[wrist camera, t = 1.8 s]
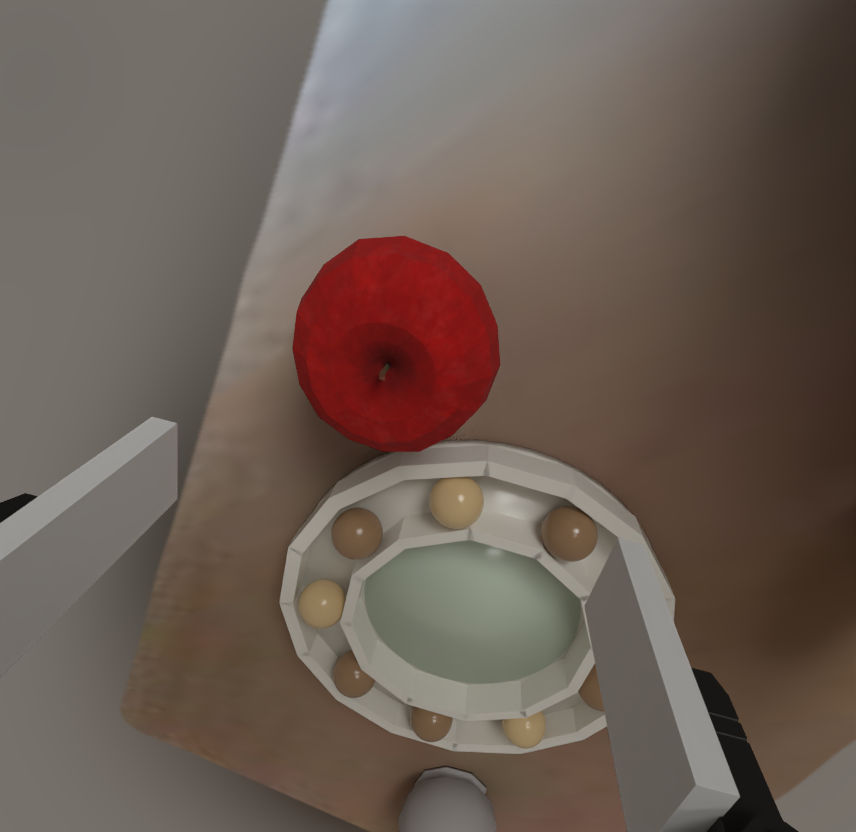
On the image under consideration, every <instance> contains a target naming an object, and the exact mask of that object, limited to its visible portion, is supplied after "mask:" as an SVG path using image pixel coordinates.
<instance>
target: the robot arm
mask: <svg viewBox="0 0 856 832" xmlns="http://www.w3.org/2000/svg"><path fill="white" fill-rule="evenodd" d="M176 500H177V423H174V422H170V421H166V420H162V419H159V418H154V417H151V418H150V419H148V420H147V421H145V422H144V423H143V424H141V425H140V426H138V427H137V428H136V429H134V430H133V431H131V432H130V433H128V434H127V435H125V436H124V437H123V438H121V439H120V440H118V441H117V442H116V443H114V444H113V445H111V446H110V447H108V448H107V449H105V450H104V451H103V452H101V453H100V454H98V455H97V456H95V457H94V458H93V459H91V460H90V461H88V462H87V463H85V464H84V465H83V466H81V467H80V468H78V469H77V470H76V471H74V472H73V473H71V474H70V475H68V476H67V477H66V478H64V479H63V480H61V481H60V482H58V483H57V484H56V485H54V486H53V487H52V488H50V489H48V490H47V491H45V492H44V493H43V494H41V495H40V496H38V497H37V496H33V495H30V494H26V493H25V494H22V495H20V496H17V497H15V498H12V499H9V500H6V501H4V502H1V503H0V678H1V676H3V675H4V673H5V672H7V671H8V669H10V668H11V667H12V665H13V664H14V663H15V662H16V661H17V660H18V659H19V658H20V657H21V656H22V655H23V654H24V653H25V652H26V651H27V650H28V649H29V648H30V647H31V646H32V645H33V644H34V643H35V642H36V641H37V640H38V639H39V638H40V637H41V636H42V635H43V634H44V633H45V632H46V631H47V630H48V629H49V628H50V627H51V626H52V625H53V624H54V623H55V622H56V621H57V620H58V619H59V618H60V617H61V616H62V615H63V614H64V613H65V612H66V611H67V610H68V609H69V608H70V607H71V606H72V605H73V604H74V603H75V602H76V601H77V600H78V599H79V598H80V597H81V596H82V595H83V594H84V593H85V592H86V591H87V590H88V589H89V588H90V587H91V586H92V585H93V584H94V583H95V582H96V581H97V580H98V579H99V578H100V576H102V575H103V574H104V573H105V572H106V571H107V570H108V569H109V568H110V567H111V566H112V565H113V564H114V563H115V562H116V561H117V560H118V559H119V558H120V556H122V554H124V552H125V551H127V549H128V548H129V547H130V546H131V545H132V544H133V543H134V542H135V541H136V540H137V539H138V538H139V537H140V536H141V535H142V534H143V533H144V532H145V531H146V530H147V529H148V528H149V527H150V526H151V525H152V524H153V523H154V522H155V521H156V520H157V519H158V518H159V517H160V516H161V515H162V514H163V513H164V512H165V511H166V510H167V509H168V508H169V507H170V506H171V505H172V504H173V503H174V502H175V501H176ZM584 607H585V613H586V618H587V623H588V628H589V634H590V639H591V644H592V649H593V655H594V660H595V665H596V671H597V676H598V681H599V686H600V692H601V697H602V702H603V708H604V713H605V718H606V723H607V729H608V734H609V739H610V744H611V750H612V755H613V760H614V766H615V771H616V776H617V781H618V787H619V792H620V797H621V803H622V808H623V813H624V818H625V824H626V829H627V832H798V831H797V830H795V829H794V828H793V827H791V826H790V825H789V824H787V823H786V822H784V821H783V819H782V817H781V816H780V813H779V811H778V809H777V806H776V804H775V802H774V799H773V797H772V795H771V792H770V790H769V788H768V785H767V783H766V781H765V779H764V776H763V774H762V772H761V769H760V767H759V765H758V762H757V760H756V758H755V755H754V753H753V751H752V749H751V746H750V744H749V743H747V741H746V739H747V737H746V735H745V732H744V730H743V728H742V725H741V723H738V719H739V718H738V716H737V714H736V712H735V709H734V707H733V705H732V702H731V700H730V698H729V695H728V694H727V693H726V692H725V690H724V689H723V688H722V686H721V685H720V684H719V683H718V681H717V680H716V679H715V677H714V676H713V675H712V673H709V672H705V671H701V670H698V669H694V668H691V666H690V664H689V661H688V658H687V656H686V653H685V651H684V648H683V645H682V643H681V640H680V637H679V635H678V632H677V630H676V627H675V624H674V622H673V619H672V616H671V614H670V611H669V609H668V606H667V603H666V601H665V598H664V596H663V593H662V590H661V588H660V585H659V582H658V580H657V577H656V575H655V572H654V569H653V567H652V564H651V561H650V559H649V556H648V554H647V551H646V548H645V546H644V544H640V543H637V542H633V541H629V540H625V539H621V538H617V540H616V542H615V544H614V546H613V549H612V551H611V553H610V555H609V557H608V559H607V561H606V563H605V565H604V567H603V569H602V571H601V573H600V575H599V577H598V579H597V581H596V583H595V585H594V587H593V589H592V591H591V593H590V595H589V597H588V599H587V602H586V604H585V606H584Z"/></svg>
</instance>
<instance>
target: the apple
mask: <svg viewBox="0 0 856 832" xmlns="http://www.w3.org/2000/svg"><path fill="white" fill-rule="evenodd" d="M293 354H294V359H295V364H296V369H297V374H298V379H299V384H300V386H301V388H302V390H303V391H304V393H305V395H306V396H307V398H308V400H309V401H310V403H311V405H312V406H313V408H314V410H315V412H316V413H317V415H318V417H320V418H321V419H322V420H324V421H325V422H326V423H328V424H329V425H330V426H332V427H333V428H334V429H336V430H337V431H338V432H340V433H341V434H342V435H344V436H345V437H346V438H348V439H350V440H352V441H355V442H358V443H361V444H363V445H366V446H369V447H372V448H375V449H377V450H380V451H383V452H420V451H422V450H424V449H426V448H428V447H430V446H432V445H434V444H436V443H438V442H440V441H442V440H444V439H446V438H448V437H450V436H452V435H453V434H454V433H455V432H456V431H457V430H458V429H459V428H460V427H461V426H462V425H463V424H464V423H465V422H466V421H467V420H468V419H469V418H470V417H471V416H472V415H473V414H474V413H475V412H476V411H477V410H478V409H479V408H480V407H481V406H482V404H483V403H484V402H485V401H486V400H487V397H488V394H489V392H490V389H491V387H492V384H493V382H494V379H495V377H496V374H497V372H498V369H499V367H500V356H499V341H498V326H497V323H496V320H495V318H494V316H493V313H492V311H491V308H490V306H489V304H488V301H487V299H486V296H485V294H484V292H483V289H482V287H481V285H480V284H479V283H478V282H477V281H476V280H475V279H474V278H473V277H472V276H471V275H470V274H469V273H468V272H467V271H466V270H465V269H464V268H463V267H462V266H461V265H460V264H459V263H458V262H457V261H456V260H455V259H454V258H453V257H452V256H451V255H450V254H449V253H447V252H444V251H442V250H439V249H436V248H434V247H431V246H429V245H426V244H424V243H421V242H419V241H416V240H414V239H411V238H409V237H406V236H397V237H383V238H369V239H358V240H357V241H356V242H354V243H353V244H351V245H350V246H349V247H347V248H346V249H345V250H343V251H342V252H341V253H339V254H338V255H336V256H335V257H334V258H332V259H331V260H330V261H328V262H327V263H325V264H324V265H323V267H322V268H321V270H320V271H319V273H318V274H317V276H316V277H315V279H314V280H313V282H312V283H311V285H310V286H309V288H308V290H307V291H306V293H305V294H304V296H303V297H302V299H301V302H300V305H299V307H298V310H297V314H296V323H295V332H294V340H293Z"/></svg>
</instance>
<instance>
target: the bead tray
mask: <svg viewBox="0 0 856 832" xmlns="http://www.w3.org/2000/svg"><path fill="white" fill-rule="evenodd" d="M617 538H621V539H625V540H629V541H633V542H637V543H640V544H644V546H645V548H646V551H647V554H648V556H649V559H650V561H651V564H652V567H653V569H654V572H655V575H656V577H657V580H658V582H659V585H660V588H661V590H662V593H663V596H664V598H665V601H666V603H667V606H668V609H669V611H670V614H671V616H672V619H673V622H674V609H675V597H674V594H673V592H672V589H671V587H670V584H669V582H668V579H667V577H666V575H665V573H664V571H663V569H662V567H661V565H660V563H659V561H658V559H657V557H656V555H655V554H654V552H653V550H652V547H651V545H650V542H649V540H648V538H647V536H646V534H645V533H644V531H643V530H642V528H641V526H640V524H639V523H638V521H637V519H636V517H635V516H634V515H633V514H631V513H630V511H629V510H628V509H627V508H626V507H625V506H624V504H623V503H622V502H621V501H620V500H619V499H618V498H617V497H616V496H614V495H613V494H612V493H611V492H610V491H609V490H607V489H606V488H605V487H604V486H603V485H602V484H600V483H599V482H597V481H596V480H594V479H593V478H591V477H590V476H588V475H587V474H585V473H584V472H582V471H581V470H579V469H577V468H575V467H573V466H571V465H569V464H567V463H565V462H563V461H561V460H559V459H557V458H554V457H551V456H549V455H546V454H543V453H540V452H537V451H534V450H532V449H528V448H524V447H519V446H515V445H510V444H506V443H501V442H491V441H482V440H444V441H440V442H438V443H436V444H434V445H432V446H430V447H428V448H426V449H424V450H422V451H420V452H389V453H387V454H384V455H382V456H379V457H376V458H374V459H372V460H370V461H369V462H367V463H365V464H363V465H361V466H360V467H358V468H356V469H354V470H353V471H351V472H350V473H349V474H348V475H346V476H345V477H344V478H342V479H341V480H340V481H338V482H337V483H336V484H335V485H334V486H333V487H332V488H331V489H330V490H329V491H328V492H327V493H326V495H325V496H324V497H323V498H322V499H321V500H320V502H319V503H318V505H317V506H316V508H315V509H314V511H313V512H312V514H311V515H310V516H309V517H308V519H307V520H306V521H305V522H304V524H303V525H302V526H301V527H300V528H299V530H298V531H297V533H296V535H295V537H294V538H293V540H292V542H291V544H290V545H289V547H288V552H287V559H286V565H285V571H284V577H283V583H282V589H281V595H280V601H279V604H280V607H281V610H282V612H283V615H284V618H285V621H286V624H287V627H288V630H289V633H290V636H291V639H292V641H293V644H294V647H295V650H296V653H297V656H298V657H299V658H300V659H301V660H302V661H303V663H304V664H305V665H306V666H307V667H308V668H309V669H310V670H311V672H312V673H313V674H314V675H315V676H316V677H317V678H318V680H319V681H320V682H321V683H322V684H323V685H324V686H325V687H326V689H327V690H328V691H329V692H330V693H331V694H332V695H333V696H334V698H335V699H336V700H337V701H339V702H341V703H342V704H344V705H346V706H347V707H349V708H351V709H352V710H354V711H356V712H357V713H359V714H361V715H362V716H364V717H366V718H367V719H369V720H371V721H372V722H374V723H376V724H377V725H379V726H381V727H382V728H384V729H386V730H387V731H389V732H390V733H394V734H397V735H400V736H404V737H407V738H411V739H414V740H417V741H421V742H424V743H428V744H431V745H434V746H438V747H441V748H445V749H448V750H452V751H462V752H486V753H510V754H522V753H527V752H531V751H536V750H540V749H545V748H549V747H554V746H558V745H562V744H567V743H571V742H576V741H580V740H584V739H586V738H588V737H589V736H591V735H593V734H594V733H596V732H598V731H599V730H601V729H603V728H604V727H606V726H607V723H606V718H605V713H604V708H603V702H602V697H601V692H600V686H599V681H598V676H597V671H596V665H595V660H594V655H593V649H592V644H591V639H590V634H589V628H588V623H587V618H586V613H585V607H584V606H585V604H586V602H587V599H588V597H589V595H590V593H591V591H592V589H593V587H594V585H595V583H596V581H597V579H598V577H599V575H600V573H601V571H602V569H603V567H604V565H605V563H606V561H607V559H608V557H609V555H610V553H611V551H612V549H613V546H614V544H615V542H616V540H617Z"/></svg>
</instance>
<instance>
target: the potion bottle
mask: <svg viewBox="0 0 856 832" xmlns="http://www.w3.org/2000/svg"><path fill="white" fill-rule="evenodd" d="M485 795H486V786H485V785H484V784H483V783H482V782H481V781H480V780H479V779H478V778H477V777H476V776H475V775H474V774H473V773H472V772H468V771H464V770H461V769H457V768H454V767H450V766H442V767H437V768H431V769H426V770H424V771H423V772H422V774H421V775H420V776H419V778H418V779H417V781H416V782H415V786H414V788H413V789H412V791H411V792H410V793H409V795H408V796H407V798H406V801H405V804H404V806H403V809H402V811H401V814H400V816H399V819H398V821H399V832H496V827H497V826H496V821H495V816H494V811H493V806H492V802H491V801H490V800H489V799H488V798H487V797H486V796H485Z"/></svg>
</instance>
